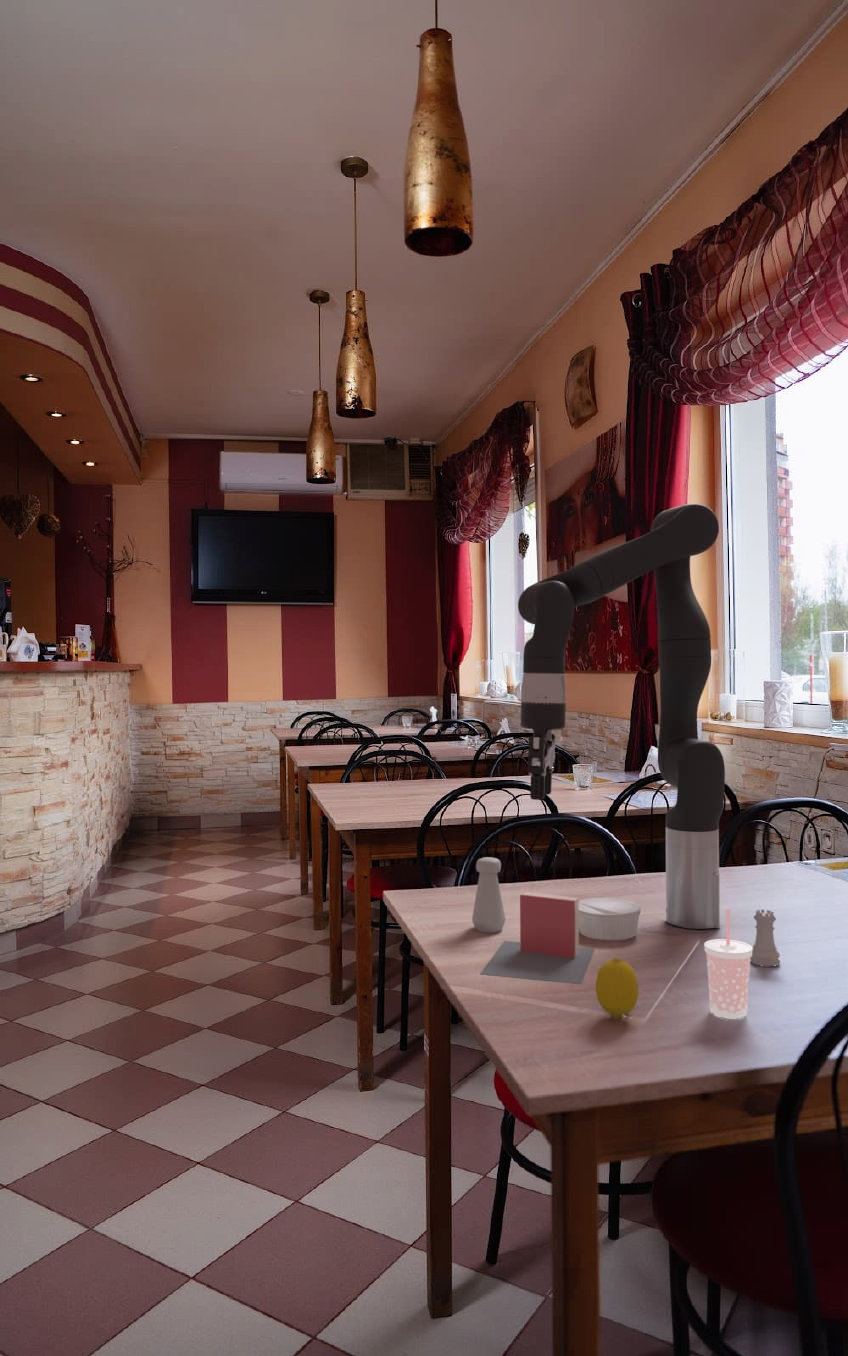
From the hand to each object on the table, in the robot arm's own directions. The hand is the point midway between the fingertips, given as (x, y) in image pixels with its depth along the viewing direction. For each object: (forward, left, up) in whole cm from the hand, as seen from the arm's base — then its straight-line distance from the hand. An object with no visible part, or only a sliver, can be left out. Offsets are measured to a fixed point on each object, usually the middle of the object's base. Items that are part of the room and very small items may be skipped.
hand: (541, 796), depth 150 cm
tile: (-2, +7, -24) cm, 25 cm away
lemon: (-15, +30, -25) cm, 42 cm away
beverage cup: (-29, +24, -25) cm, 45 cm away
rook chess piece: (-35, +1, -25) cm, 43 cm away
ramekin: (-10, -7, -25) cm, 28 cm away
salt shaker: (+10, -3, -25) cm, 27 cm away
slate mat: (-2, +12, -25) cm, 27 cm away
